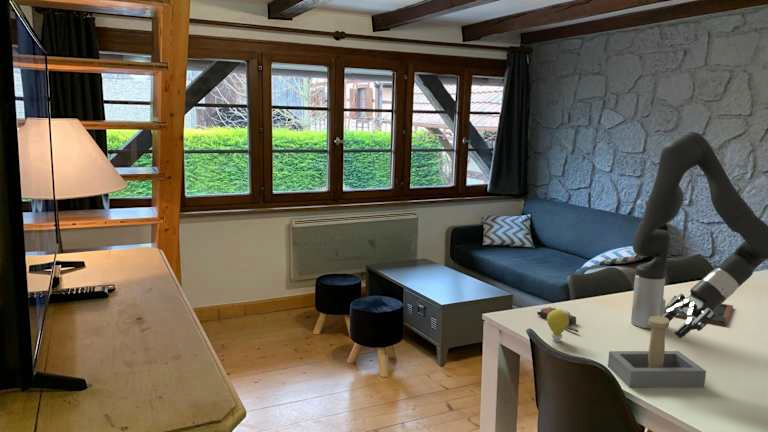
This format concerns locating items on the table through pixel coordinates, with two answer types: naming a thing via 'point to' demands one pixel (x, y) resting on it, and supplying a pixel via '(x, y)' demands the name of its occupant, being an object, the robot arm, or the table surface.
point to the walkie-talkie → (572, 319)
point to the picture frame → (720, 313)
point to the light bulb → (557, 323)
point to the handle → (657, 341)
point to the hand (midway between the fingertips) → (668, 329)
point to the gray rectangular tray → (656, 370)
